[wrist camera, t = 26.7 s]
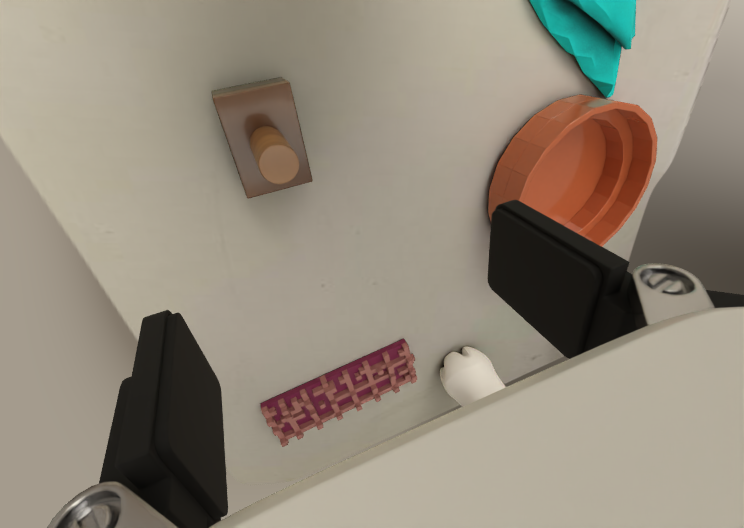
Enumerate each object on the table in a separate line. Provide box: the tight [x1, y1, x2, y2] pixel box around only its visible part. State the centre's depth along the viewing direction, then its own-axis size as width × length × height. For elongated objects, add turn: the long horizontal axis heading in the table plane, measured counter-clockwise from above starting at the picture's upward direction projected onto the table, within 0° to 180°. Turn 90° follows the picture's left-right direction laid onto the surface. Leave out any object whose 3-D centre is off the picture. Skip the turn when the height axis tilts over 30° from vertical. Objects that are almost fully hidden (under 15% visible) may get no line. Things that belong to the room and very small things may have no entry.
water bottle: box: [440, 347, 506, 407], centre depth 43 cm, size 7×7×25 cm
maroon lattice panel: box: [261, 339, 417, 447], centre depth 46 cm, size 7×19×2 cm, turn 102°
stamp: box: [212, 77, 312, 198], centre depth 26 cm, size 7×5×8 cm
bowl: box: [488, 94, 657, 247], centre depth 40 cm, size 17×17×5 cm
